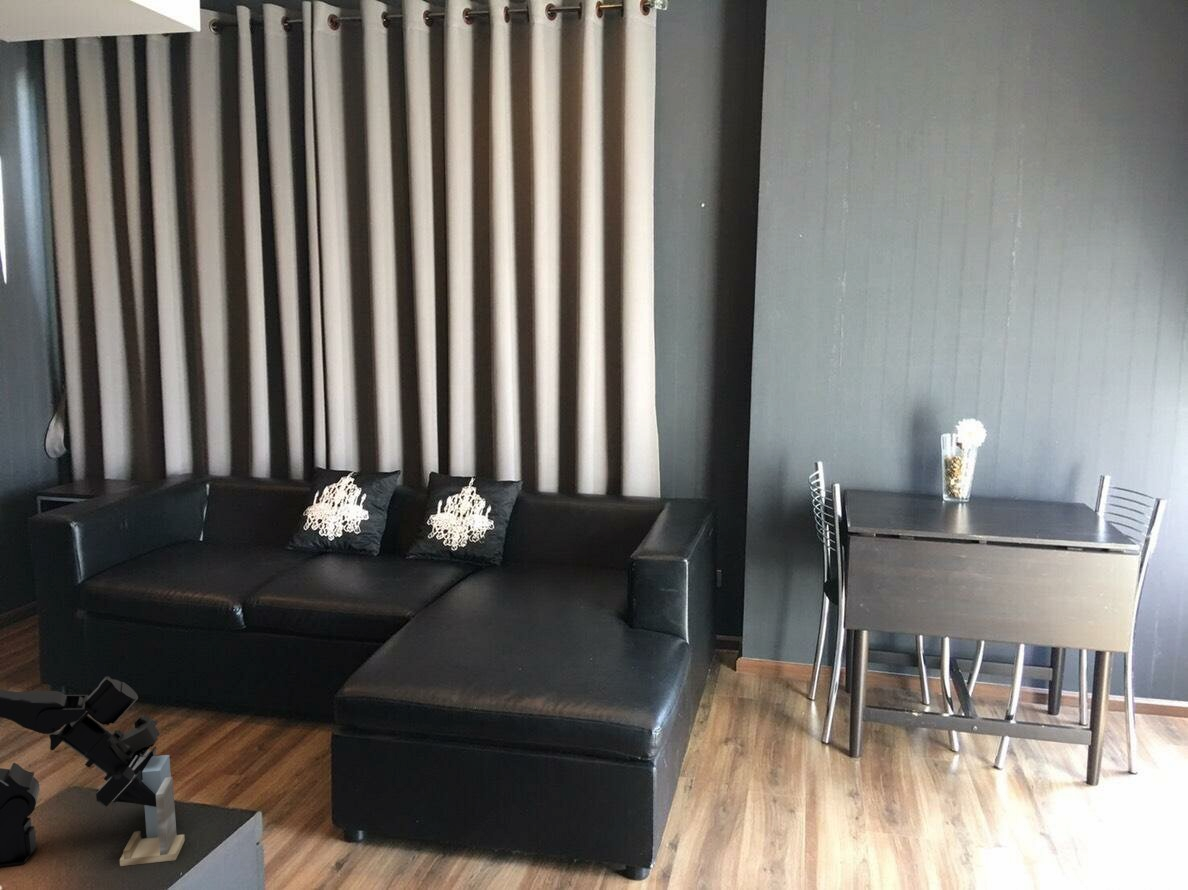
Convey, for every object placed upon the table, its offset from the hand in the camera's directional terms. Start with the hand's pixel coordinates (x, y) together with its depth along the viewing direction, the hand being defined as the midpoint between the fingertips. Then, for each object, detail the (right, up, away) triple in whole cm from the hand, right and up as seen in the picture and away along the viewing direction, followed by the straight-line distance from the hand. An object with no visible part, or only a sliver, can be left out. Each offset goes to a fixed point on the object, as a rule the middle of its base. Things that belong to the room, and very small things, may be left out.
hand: (165, 795), depth 173 cm
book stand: (0, -8, -7) cm, 10 cm away
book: (-1, -7, 0) cm, 7 cm away
